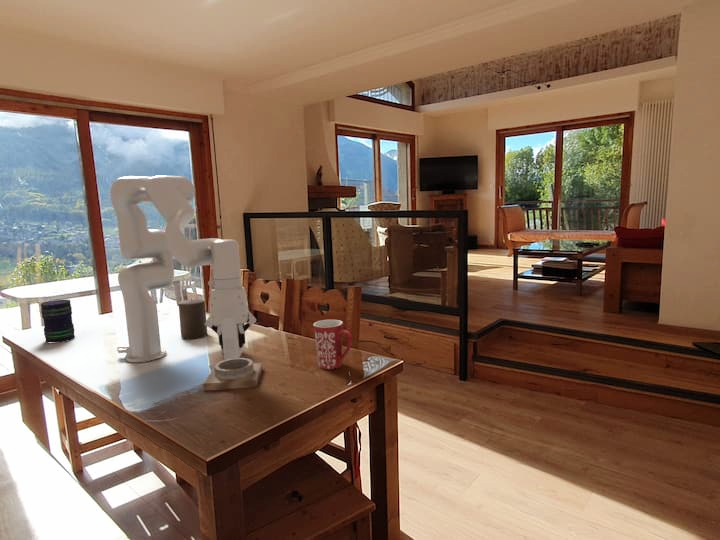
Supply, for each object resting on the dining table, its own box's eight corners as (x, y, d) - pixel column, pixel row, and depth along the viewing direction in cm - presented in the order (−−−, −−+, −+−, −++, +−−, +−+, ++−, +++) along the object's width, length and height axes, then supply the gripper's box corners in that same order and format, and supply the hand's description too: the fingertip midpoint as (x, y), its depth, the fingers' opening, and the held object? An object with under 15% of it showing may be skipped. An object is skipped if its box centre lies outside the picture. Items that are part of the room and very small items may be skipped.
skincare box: (228, 352, 132) (224, 313, 131) (242, 352, 133) (239, 312, 131) (223, 359, 126) (220, 318, 125) (239, 359, 127) (235, 317, 125)
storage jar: (56, 344, 171) (51, 305, 169) (39, 342, 175) (33, 304, 172) (81, 336, 180) (76, 300, 178) (64, 334, 184) (59, 298, 182)
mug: (309, 367, 138) (307, 324, 136) (327, 358, 145) (325, 317, 143) (342, 375, 131) (341, 330, 129) (360, 365, 138) (358, 322, 136)
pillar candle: (202, 339, 172) (199, 300, 170) (176, 339, 172) (173, 300, 170) (211, 332, 181) (208, 295, 179) (187, 332, 182) (184, 295, 180)
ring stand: (204, 390, 123) (202, 374, 122) (215, 371, 137) (214, 357, 136) (256, 387, 124) (255, 371, 124) (262, 368, 138) (261, 354, 137)
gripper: (193, 287, 122) (199, 353, 125) (256, 284, 124) (261, 349, 126) (200, 283, 129) (205, 344, 132) (259, 280, 131) (264, 341, 134)
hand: (232, 346), depth 129 cm, fingers closed on skincare box, 4 cm apart
